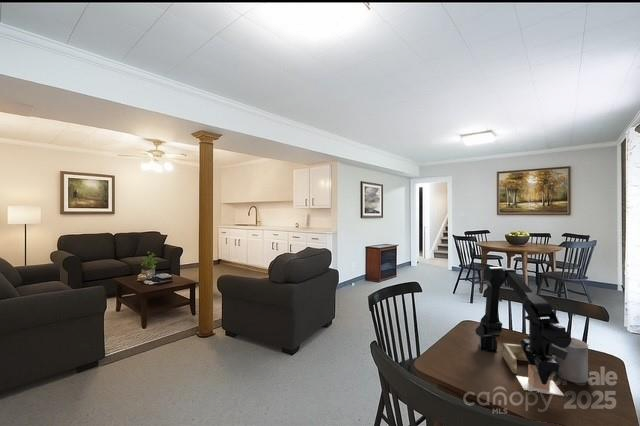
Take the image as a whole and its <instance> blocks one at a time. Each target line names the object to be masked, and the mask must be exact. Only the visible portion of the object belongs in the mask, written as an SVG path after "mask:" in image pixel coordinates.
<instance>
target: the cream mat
mask: <svg viewBox="0 0 640 426" xmlns="http://www.w3.org/2000/svg"><path fill="white" fill-rule="evenodd" d="M515 378H516V380H517V381H518V383H519V384H520V386H521V387H522V389H523V391H525V390H526V391H527V390H528V391H527V392H532V391H537V392H536V393H539V392H540V394H547V395H554V396H560V397H565V394H564V393H563V392H562V391H561V390H560V388H559V387H558V386H557V385H556V383H555V382H554V381H553V380H551V379H550V390H547V389H540V388H533V386H532V385H531V383H530V382H529V380H528V376H521V375H515Z"/></svg>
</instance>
